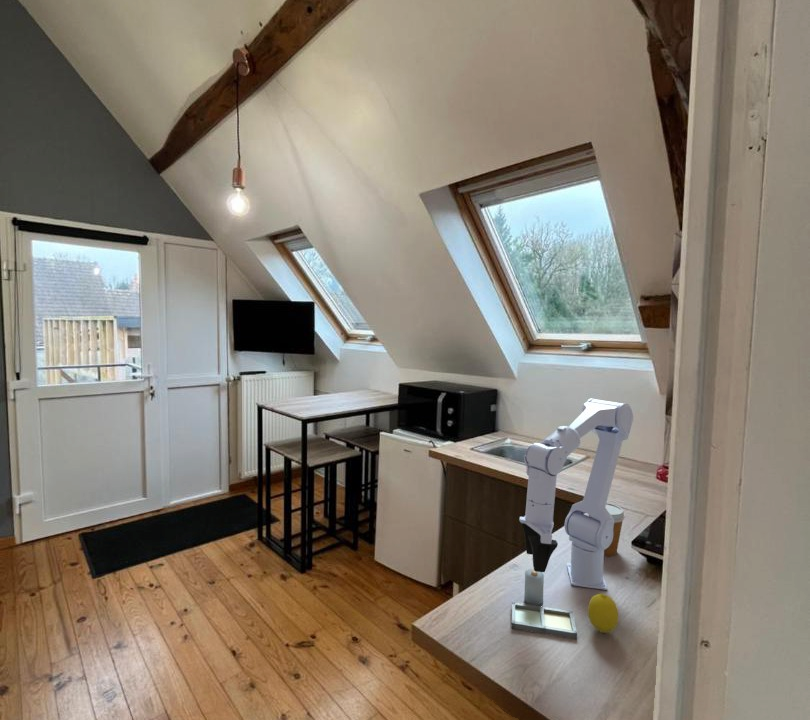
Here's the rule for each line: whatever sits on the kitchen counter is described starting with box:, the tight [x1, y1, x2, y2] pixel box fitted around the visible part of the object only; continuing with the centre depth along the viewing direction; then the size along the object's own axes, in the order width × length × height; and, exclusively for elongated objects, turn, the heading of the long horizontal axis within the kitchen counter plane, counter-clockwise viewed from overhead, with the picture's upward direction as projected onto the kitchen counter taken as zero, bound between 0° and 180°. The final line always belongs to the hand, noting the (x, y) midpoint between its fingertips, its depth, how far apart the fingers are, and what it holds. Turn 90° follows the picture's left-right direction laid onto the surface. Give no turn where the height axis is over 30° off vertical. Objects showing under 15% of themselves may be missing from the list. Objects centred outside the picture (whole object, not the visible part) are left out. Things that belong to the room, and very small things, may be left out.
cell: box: [523, 568, 545, 607], centre depth 97 cm, size 4×4×7 cm
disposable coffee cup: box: [588, 502, 626, 557], centre depth 119 cm, size 10×10×12 cm
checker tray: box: [511, 602, 578, 640], centre depth 90 cm, size 7×12×1 cm, turn 76°
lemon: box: [587, 593, 619, 634], centre depth 87 cm, size 6×6×8 cm
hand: (535, 562), depth 94 cm, fingers open, 7 cm apart
